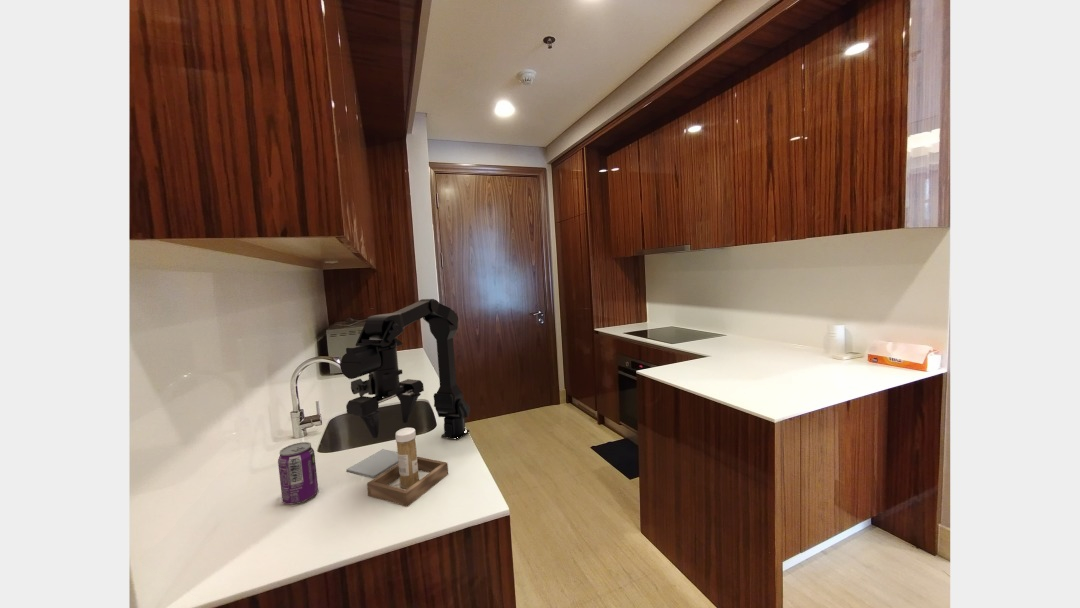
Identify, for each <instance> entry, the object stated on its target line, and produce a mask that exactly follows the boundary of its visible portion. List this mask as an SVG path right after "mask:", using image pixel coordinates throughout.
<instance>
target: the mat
mask: <svg viewBox="0 0 1080 608" xmlns="http://www.w3.org/2000/svg"><path fill="white" fill-rule="evenodd" d="M397 453H398V451H395V450H390V449H385V448H382V449H380V450H378V451H377V452H375V453H373V454H371V455H369V456H368V457H365V458H364V459H363V460H360V461H359V462H357V463H355V464H353V465H352V466H350V467H348V468H346V472H347V473H351V474H355V475H359V476H364V477H367V478H370V479H375V478H376V477H378V476H379V475H381V474H382V473H384V472H386V471H387V470H389V469H390V468H392V467H393V466H395V465H397V464H398V454H397Z"/></svg>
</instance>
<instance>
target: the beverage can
mask: <svg viewBox="0 0 1080 608" xmlns="http://www.w3.org/2000/svg"><path fill="white" fill-rule="evenodd" d="M315 455H316V454H315V450H314V448H313V447H312V443H311V442H308V441H301V442H296V443H293V444H290V445H288V446H285V447H283V448H282V449H280V450H279V457H278V458H277V466H278V475H279V484H280V490H281V491H280V492H281V500H282V501H281V502H283V503H284V504H288V505H289V504H290V505H291V504H292V505H296V504H300V503H303V502H306V501H308V500H309V499H311V498H312V497H313V496H315V495H316V494H317V493H318V491H319V484H318V474H317V465H316V456H315Z"/></svg>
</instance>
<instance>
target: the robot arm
mask: <svg viewBox="0 0 1080 608" xmlns="http://www.w3.org/2000/svg"><path fill="white" fill-rule="evenodd" d="M421 319H422V320H423V321H425V322H427V324H428V327H429V331H430V333H431V335H433V337H434V339H435V343H436V351H437V352H436V353H437V365H438V377H439V379H438V380H439V388H438V389H437V391H436V392H435V393H433V407H434V408H435V410H436V411H435V412H437V417H438V418H443V430H444V432H443V433H442V434H441V438H444V437H448V438H447V439H450V438H456V439H458V438H460V437H461V436H462V437H464V436H465V435H466V434H465V433H464V431H465V429H466V430H467V432H468V433H469V432H470V431H471V430H470V429H467V428H466V418H468V417H469V415H470V413H471V407H470V406H469V405H468V403H467V402H466V401H465V400H464V394H463V392H462V390H461V388H460V387H459V386H458V384H457V376H456V374H457V373H456V361H455V360H456V359H455V347H454V338H455V335H456V333H457V331H458V326H459V324H458V323H459V316H458V314H457V313H456V312H455V310H454V309H452V308H450V307H448V306H446V305H444V304H442V303H440V302H439V301H438V300H436V299H434V298H422V299H420V300H418V301H416V302H414V303H412V304H410V305H407V306H405V307H403V308H401V309H398V310H397V311H394V312H390V313H382V314H375V315H370V316H368V317H367V318H366V319H365V321H364V322H365V323H364V324H363V327H362V329H361V332H360V334H359V336H358V338H357V341H356V343H355V346H349V347H348V346H347V347H346V348H345V354H343V355H342V357H341V360H340V362H339V368H340V371H341V373H342V374H343V376H344V377H346V378H347V379H349V380H352V381H350V389H351V393H352V394H353V395H357V394H359V397H355V398H353V399H351V400H349V401H347V403H346V405H345V406H346V407H345V408H346V414H350V415H353V416H357V417H360V418H361V419H362V420H363V422H364V423H365V425H366V427H367V429H368V430H369V433H370V435H371V436H372V438H373V439H378V436H379V432H380V431H379V430H380V419H381V418H380V417H381V416H380V415H381V411H380V410H378V409H379V405H380V404H381V403H384V402H385V401H388V400H391V399H394V398H396V397H397V399H398V400H399V402H400V411H401V419H402V423H404V424H408V423H409V422H408V421H409V419H410V417H411V414H412V412H413V409H414V407H415V405H416V402H417V401H418V398H419V397H421V393H423V392H424V391H425V390H424V389H425V388H424V387H425V386H424V383H423V382H422V380H419V379H409V378H407V379H405V380H402V381H400V375H402V374H403V369H399V363H398V362H399V361H398V351H397V350H398V349H397V347H399V346H402V345H403V342H402V341H401V340H399V339H398V336H399V337H400V335H401V334H402V333H403V332H404V331H405V328H406V327H407V326H409V325H410V324H413V323H415V322H417V321H419V320H421ZM366 375H368V379H365V380H362V379H361V378H360V377H363V376H366ZM357 378H358V379H357ZM367 394H368V395H370V396H371V397H370V396H366V395H367ZM373 395H374V396H373ZM464 427H465V428H464ZM463 435H464V436H463ZM457 437H458V438H457ZM462 437H461V438H462ZM461 438H460V439H461ZM456 439H455V440H456ZM458 440H459V439H458Z"/></svg>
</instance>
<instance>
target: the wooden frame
mask: <svg viewBox="0 0 1080 608" xmlns="http://www.w3.org/2000/svg"><path fill="white" fill-rule="evenodd" d="M417 462H418V471H421V470H422V472H425V471H426V472H425V473H428V474H426V475H425V476H423V477H422V478H419V481H418V482H416V483H415V484H414V485H412V486H411V487H410V488H408V489H403V488H401V487H400V488H399V487H395V486H391V485H390V484H392V483H393V482H394V481H396V480H398V479H400V474H399V465H398V463H397V464H396V465H394V466H393V467H391V468H389V469H388V470H386V471H385V472H383V473H382V474H380V475H378V476H377V477H375V478H372V479H371V480H369V481H368V482H367V483H366V488H367V496H368V497H372V498H376V499H378V500H383V501H387V502H390V503H393V504H395V505H396V504H397V505H401V506H402V507H403V506H404V507H409V506H410V505H411V504H413V503H414V502H416V501H417V500H418V499H419V498H420V497H422V495H424V494H425V493H427V492H428V491H430V489H432V488H433V487H434V486H435V485H437V484H438V483H439V482H440V481H441V480H442V479H444V478H445V477H447V476H448V475H449V466H448V465H449V464H448V462H446V461H441V460H436V459H431V458H426V457H421V456H417Z"/></svg>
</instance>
